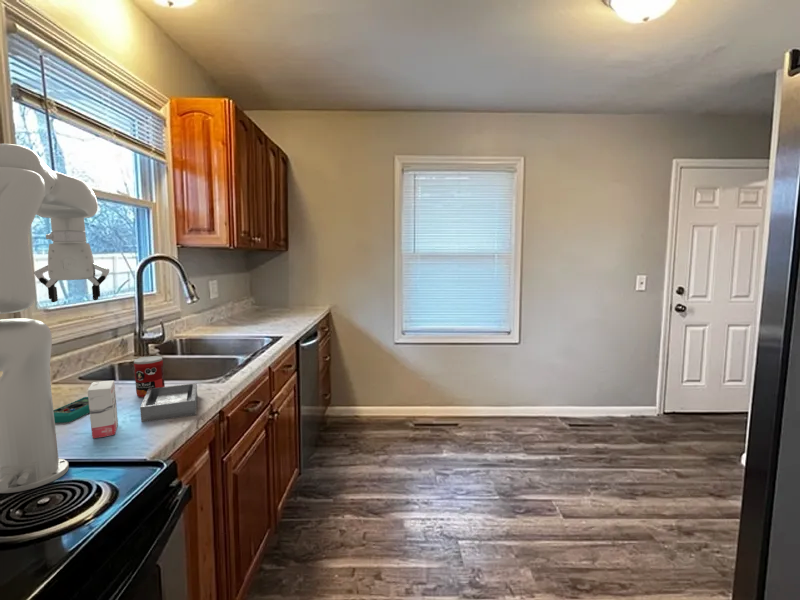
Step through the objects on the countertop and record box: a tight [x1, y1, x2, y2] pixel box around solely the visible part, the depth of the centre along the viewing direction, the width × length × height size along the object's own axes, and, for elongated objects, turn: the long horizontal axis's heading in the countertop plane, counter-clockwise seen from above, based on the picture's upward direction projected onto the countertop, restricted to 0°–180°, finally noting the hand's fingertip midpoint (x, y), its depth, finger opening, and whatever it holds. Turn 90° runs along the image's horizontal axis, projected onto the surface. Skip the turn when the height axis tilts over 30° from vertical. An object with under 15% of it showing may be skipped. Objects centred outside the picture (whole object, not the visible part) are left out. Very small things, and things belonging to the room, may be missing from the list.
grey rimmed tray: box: [139, 382, 198, 423], centre depth 133 cm, size 18×13×4 cm
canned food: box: [133, 355, 166, 398], centre depth 146 cm, size 8×8×11 cm
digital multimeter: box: [53, 396, 90, 424], centre depth 130 cm, size 7×15×3 cm, turn 174°
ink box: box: [87, 380, 119, 439], centre depth 116 cm, size 9×5×12 cm, turn 26°
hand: (75, 300), depth 131 cm, fingers open, 9 cm apart
